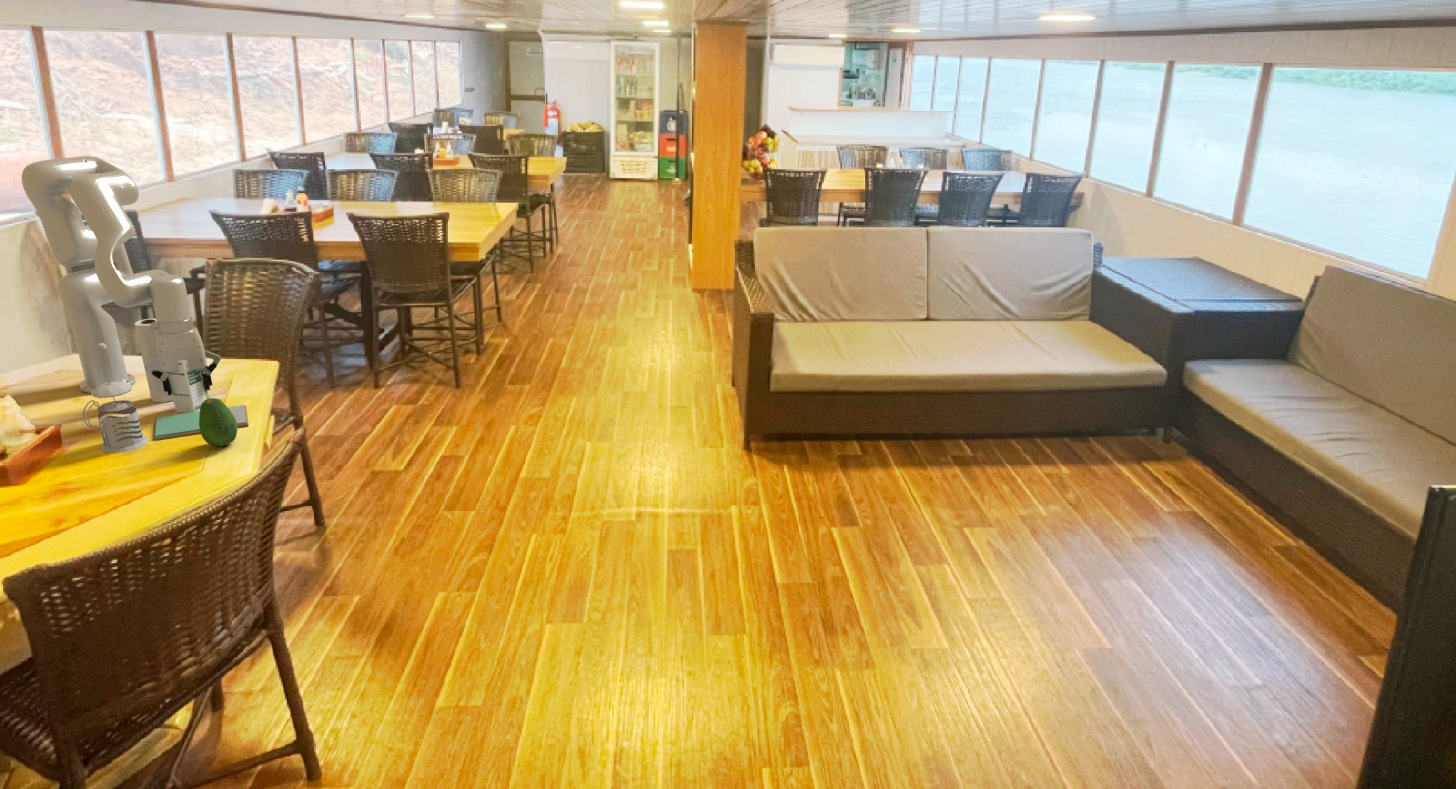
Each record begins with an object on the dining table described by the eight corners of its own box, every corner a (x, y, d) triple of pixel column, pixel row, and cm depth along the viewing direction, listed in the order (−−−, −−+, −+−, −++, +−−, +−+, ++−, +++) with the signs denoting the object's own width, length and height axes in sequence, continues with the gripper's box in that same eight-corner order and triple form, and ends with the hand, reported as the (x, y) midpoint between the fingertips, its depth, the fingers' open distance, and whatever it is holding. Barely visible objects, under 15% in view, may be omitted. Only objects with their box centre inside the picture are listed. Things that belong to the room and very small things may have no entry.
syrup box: (194, 414, 230) (183, 360, 224) (174, 411, 231) (163, 358, 225) (211, 406, 235) (200, 353, 230) (191, 403, 236) (180, 351, 231)
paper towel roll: (146, 401, 237) (128, 323, 229) (166, 393, 242) (149, 316, 234) (167, 405, 235) (150, 326, 226) (187, 397, 240) (171, 320, 232)
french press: (157, 441, 215) (135, 341, 205) (105, 459, 205) (79, 355, 196) (135, 431, 219) (111, 333, 210) (83, 448, 210) (56, 347, 201)
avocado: (199, 443, 214) (190, 397, 210) (236, 435, 219) (227, 389, 214) (207, 455, 209) (197, 408, 204) (244, 447, 213) (235, 400, 209)
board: (156, 420, 226) (155, 416, 225) (245, 407, 235) (245, 404, 234) (154, 440, 215) (153, 436, 215) (248, 426, 224) (247, 422, 224)
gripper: (133, 334, 217) (149, 401, 224) (215, 325, 225) (228, 390, 232) (135, 325, 223) (150, 391, 230) (215, 317, 231) (227, 381, 238)
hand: (189, 390), depth 231 cm, fingers closed on syrup box, 8 cm apart
